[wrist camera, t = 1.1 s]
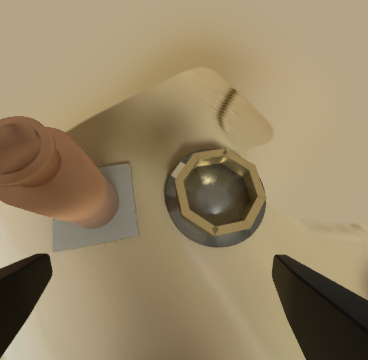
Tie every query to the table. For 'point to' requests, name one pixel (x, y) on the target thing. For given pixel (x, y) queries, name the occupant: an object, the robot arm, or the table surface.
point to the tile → (114, 230)
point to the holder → (215, 197)
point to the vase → (52, 175)
